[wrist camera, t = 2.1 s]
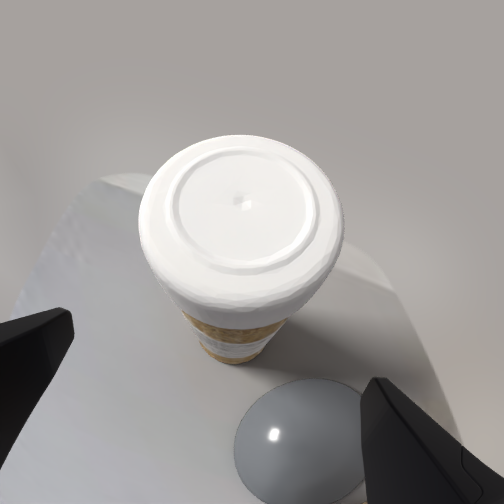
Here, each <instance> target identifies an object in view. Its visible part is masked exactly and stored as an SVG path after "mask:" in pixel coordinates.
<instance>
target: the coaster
mask: <svg viewBox="0 0 504 504" xmlns="http://www.w3.org/2000/svg"><path fill="white" fill-rule="evenodd" d="M360 399H361V396H360V395H359V394H358V393H356V392H355V391H354V390H352V389H351V388H349V387H347V386H345V385H343V384H341V383H338V382H335V381H331V380H326V379H303V380H297V381H292V382H289V383H286V384H283V385H281V386H278V387H276V388H274V389H273V390H271V391H269V392H267V393H266V394H265V395H263V396H262V397H261V398H259V399H258V400H257V401H256V402H255V403H254V404H253V405H252V406H251V407H250V409H249V410H248V411H247V412H246V414H245V416H244V417H243V419H242V420H241V423H240V425H239V427H238V429H237V433H236V436H235V442H234V459H235V465H236V469H237V472H238V474H239V476H240V478H241V480H242V482H243V483H244V485H245V486H246V487H247V489H248V490H249V491H250V492H251V493H252V494H253V495H254V496H256V497H257V498H258V499H260V500H261V501H263V502H265V503H267V504H332V503H334V502H336V501H337V500H339V499H341V498H343V497H344V496H346V495H347V494H348V493H350V492H351V491H352V490H353V489H354V488H355V487H356V486H357V485H358V484H359V483H360V482H361V481H362V480H363V478H364V477H365V474H364V466H363V457H362V449H361V421H360Z"/></svg>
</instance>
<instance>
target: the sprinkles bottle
mask: <svg viewBox="0 0 504 504" xmlns="http://www.w3.org/2000/svg"><path fill="white" fill-rule="evenodd" d="M139 234H140V240H141V246H142V249H143V252H144V254H145V256H146V258H147V261H148V263H149V265H150V267H151V269H152V271H153V273H154V275H155V276H156V278H157V280H158V281H159V283H160V285H161V287H162V288H163V290H164V291H165V292H166V294H167V295H168V297H169V298H170V299H171V300H172V301H173V302H174V303H175V304H176V305H177V306H178V307H179V308H180V309H181V310H182V314H183V316H184V317H185V319H186V321H187V322H188V324H189V325H190V327H191V328H192V330H193V332H194V333H195V335H196V336H197V338H198V340H199V342H200V344H201V346H202V347H203V349H204V350H205V351H206V352H207V353H208V354H209V355H210V356H211V357H213V358H215V359H217V360H218V361H220V362H223V363H227V364H239V363H243V362H247V361H249V360H251V359H253V358H255V357H256V356H257V355H258V354H259V353H260V352H261V351H262V350H263V349H264V347H265V345H266V344H267V343H268V342H269V341H270V339H271V338H272V337H273V336H274V335H275V334H276V333H277V332H278V330H279V329H280V328H281V327H282V326H283V324H284V323H285V322H286V321H287V319H288V317H289V316H290V315H292V314H293V313H295V312H296V311H298V310H299V309H300V308H301V307H302V306H303V305H304V304H306V303H307V302H308V300H309V299H310V298H311V297H312V296H313V295H314V294H315V292H316V291H317V290H318V289H319V288H320V286H321V285H322V283H323V282H324V281H325V279H326V278H327V276H328V275H329V273H330V272H331V270H332V268H333V267H334V265H335V263H336V261H337V259H338V257H339V254H340V251H341V247H342V243H343V239H344V215H343V209H342V205H341V202H340V199H339V197H338V194H337V192H336V191H335V188H334V186H333V184H332V183H331V181H330V180H329V179H328V177H327V176H326V174H325V173H324V172H323V171H322V170H321V169H320V168H319V167H318V165H316V164H315V163H314V162H313V161H312V160H311V159H309V158H308V157H307V156H305V155H304V154H303V153H301V152H299V151H298V150H296V149H294V148H292V147H290V146H288V145H286V144H284V143H281V142H278V141H275V140H272V139H268V138H263V137H259V136H250V135H229V136H220V137H216V138H211V139H208V140H204V141H201V142H199V143H197V144H194V145H191V146H189V147H188V148H186V149H184V150H182V151H181V152H179V153H177V154H176V155H175V156H173V157H172V158H170V159H169V160H168V161H167V162H166V163H165V164H164V165H163V166H162V167H161V168H160V169H159V170H158V172H157V173H156V174H155V176H154V177H153V178H152V180H151V181H150V183H149V185H148V187H147V189H146V191H145V193H144V196H143V199H142V202H141V206H140V211H139Z"/></svg>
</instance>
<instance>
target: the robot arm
mask: <svg viewBox="0 0 504 504" xmlns="http://www.w3.org/2000/svg"><path fill="white" fill-rule="evenodd" d="M73 339H74V327H73V320H72V314H71V312H70V311H69V310H66V309H64V308H60V307H58V308H54V309H51V310H47V311H43V312H40V313H36V314H33V315H29V316H25V317H22V318H18V319H14V320H11V321H7V322H4V323H0V470H1V467H2V465H3V463H4V462H5V460H6V458H7V456H8V454H9V452H10V450H11V448H12V446H13V444H14V443H15V441H16V439H17V437H18V435H19V433H20V432H21V430H22V428H23V426H24V425H25V423H26V421H27V420H28V418H29V416H30V414H31V413H32V411H33V409H34V408H35V406H36V404H37V403H38V401H39V400H40V398H41V396H42V395H43V393H44V392H45V390H46V388H47V387H48V385H49V384H50V382H51V381H52V379H53V377H54V375H55V374H56V372H57V370H58V368H59V366H60V364H61V362H62V360H63V358H64V356H65V354H66V353H67V351H68V349H69V347H70V345H71V343H72V341H73ZM360 421H361V449H362V457H363V466H364V474H365V484H366V494H367V504H504V478H503V477H501V476H500V475H499V474H497V473H496V472H495V471H493V470H492V469H490V468H489V467H488V466H486V465H485V464H484V463H482V462H481V461H480V460H479V459H478V458H476V457H475V456H474V455H473V454H472V453H470V452H469V451H468V450H467V449H466V448H465V447H464V446H462V445H461V444H460V443H459V442H458V441H457V440H456V439H455V438H453V437H452V436H451V435H450V434H449V433H448V432H447V431H446V430H444V429H443V428H442V427H441V426H440V425H439V424H438V423H436V422H435V421H434V420H433V419H432V418H431V417H430V416H429V415H427V414H426V413H425V412H424V411H423V410H422V409H421V408H420V407H418V406H417V405H416V404H415V403H414V402H413V401H412V400H411V399H409V398H408V397H407V396H406V395H405V394H404V393H403V392H402V391H400V390H399V389H398V388H397V387H396V386H395V385H394V384H393V383H391V382H390V381H389V380H388V379H387V378H385V377H373V378H372V379H371V380H370V382H369V383H368V385H367V387H366V389H365V391H364V392H363V394H362V396H361V399H360Z"/></svg>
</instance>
